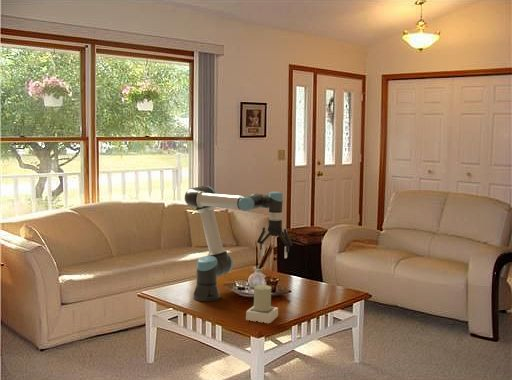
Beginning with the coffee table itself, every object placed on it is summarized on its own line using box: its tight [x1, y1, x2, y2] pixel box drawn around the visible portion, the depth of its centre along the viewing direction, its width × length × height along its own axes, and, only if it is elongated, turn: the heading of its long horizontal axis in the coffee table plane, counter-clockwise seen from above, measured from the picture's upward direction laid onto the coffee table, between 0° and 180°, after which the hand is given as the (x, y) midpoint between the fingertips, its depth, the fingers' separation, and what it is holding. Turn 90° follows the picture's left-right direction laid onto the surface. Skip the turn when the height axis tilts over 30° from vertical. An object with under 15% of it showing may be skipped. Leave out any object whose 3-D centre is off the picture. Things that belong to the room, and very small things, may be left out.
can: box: [253, 284, 272, 311], centre depth 327 cm, size 9×9×12 cm
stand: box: [245, 305, 279, 324], centre depth 328 cm, size 13×13×5 cm
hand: (274, 256), depth 352 cm, fingers open, 13 cm apart
